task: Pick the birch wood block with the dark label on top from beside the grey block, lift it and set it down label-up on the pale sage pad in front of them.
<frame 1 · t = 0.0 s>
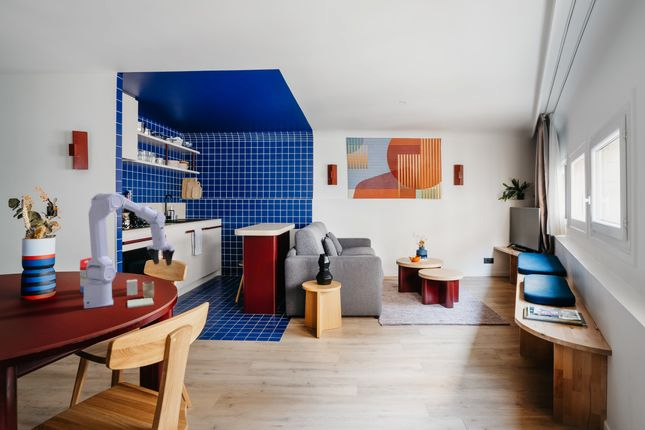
hand: (162, 264, 171), 11 cm above the table, tool pointing down, fingers open, 7 cm apart
sage pad: (140, 303, 144), on the table
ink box: (91, 290, 164), on the table
grey block: (132, 294, 158), on the table
labelled block: (148, 296, 154), on the table
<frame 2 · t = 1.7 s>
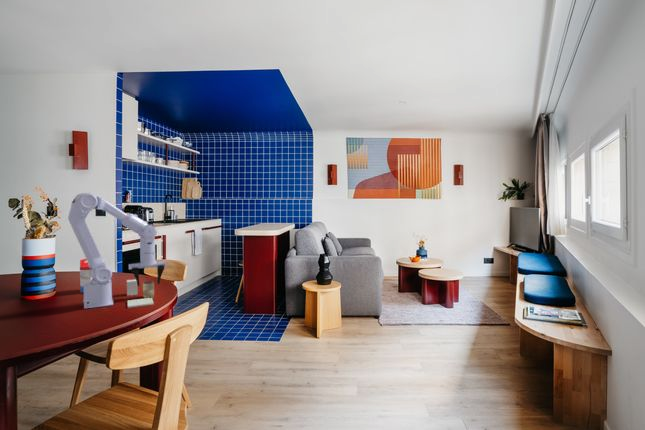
hand: (148, 284, 154), 5 cm above the table, tool pointing down, fingers open, 7 cm apart
nothing on the table moved.
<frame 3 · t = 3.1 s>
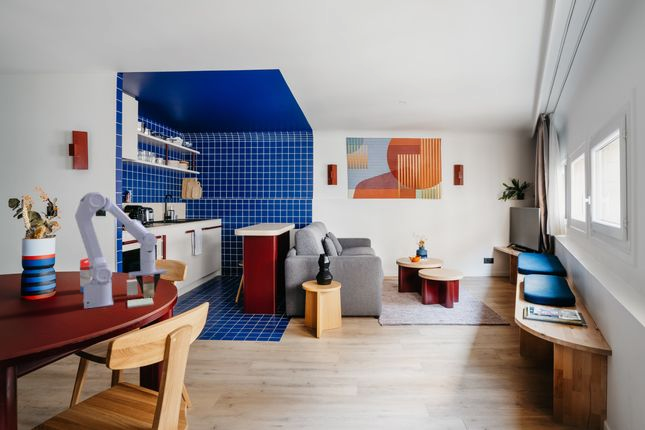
hand: (148, 292, 154), 2 cm above the table, tool pointing down, fingers closed on labelled block, 4 cm apart
labelled block: (148, 296, 154), on the table, touching gripper
everything else where it was.
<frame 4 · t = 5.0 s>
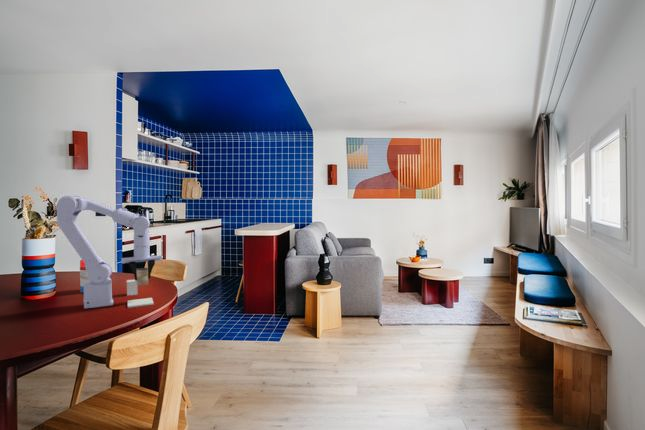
hand: (142, 279, 147), 9 cm above the table, tool pointing down, fingers closed on labelled block, 4 cm apart
labelled block: (142, 283, 147), point 7 cm above the table, touching gripper
everything else where it was.
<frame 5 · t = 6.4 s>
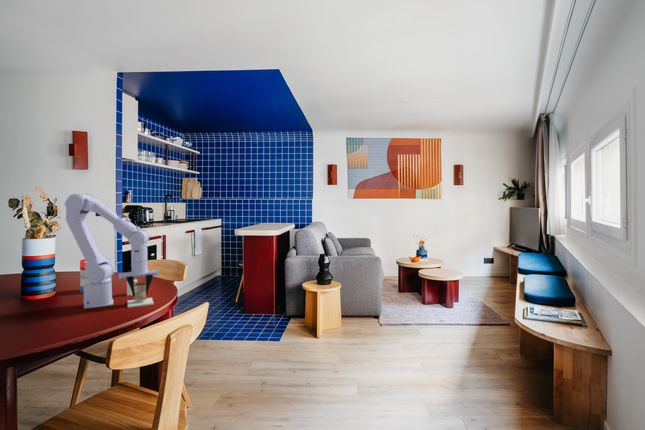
hand: (140, 294, 144), 3 cm above the table, tool pointing down, fingers closed on labelled block, 4 cm apart
labelled block: (140, 299, 144), point 2 cm above the table, touching gripper
everything else where it was.
when the fingers open (3 cm above the table, at t = 7.1 s): labelled block stays where it is, resting on sage pad.
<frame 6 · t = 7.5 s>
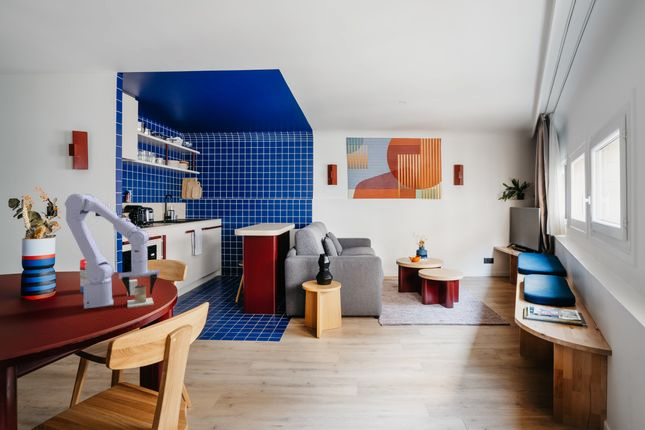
hand: (140, 294, 144), 3 cm above the table, tool pointing down, fingers open, 7 cm apart
labelled block: (140, 301, 144), point 1 cm above the table, touching sage pad
everything else where it was.
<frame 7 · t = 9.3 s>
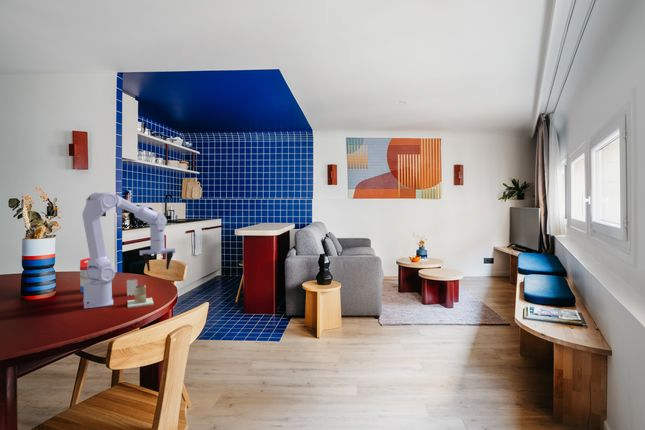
hand: (158, 269, 164), 10 cm above the table, tool pointing down, fingers open, 7 cm apart
nothing on the table moved.
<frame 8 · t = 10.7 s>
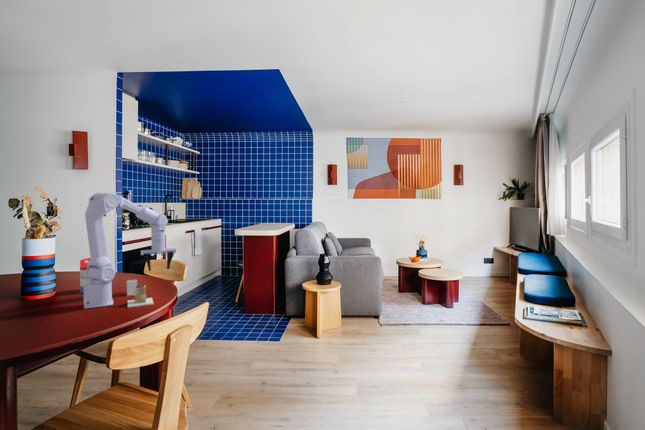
hand: (159, 269, 165), 9 cm above the table, tool pointing down, fingers open, 7 cm apart
nothing on the table moved.
at the end: labelled block 0.2 cm off-centre on the sage pad, point 0.6 cm above the sage pad's base; labelled block tilted 0°; grey block moved 0.1 cm from its start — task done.
